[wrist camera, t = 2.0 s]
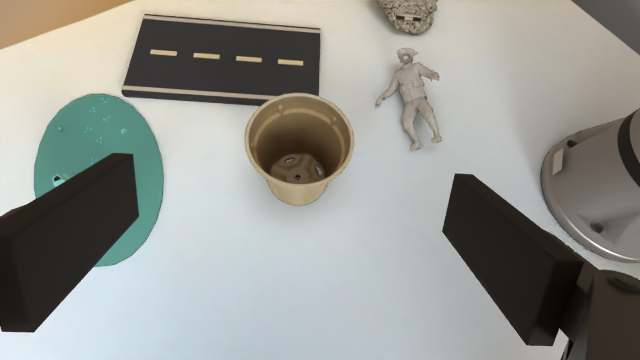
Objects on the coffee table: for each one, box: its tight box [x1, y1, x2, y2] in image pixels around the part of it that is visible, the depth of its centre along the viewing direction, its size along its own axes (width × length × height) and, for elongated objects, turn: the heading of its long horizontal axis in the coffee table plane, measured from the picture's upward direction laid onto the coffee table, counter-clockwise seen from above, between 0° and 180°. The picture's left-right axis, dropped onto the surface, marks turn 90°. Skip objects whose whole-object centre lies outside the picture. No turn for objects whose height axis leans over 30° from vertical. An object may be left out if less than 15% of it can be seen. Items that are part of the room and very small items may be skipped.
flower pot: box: [245, 93, 354, 205], centre depth 36 cm, size 9×9×9 cm
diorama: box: [34, 94, 163, 267], centre depth 34 cm, size 12×20×9 cm, turn 20°
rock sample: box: [376, 0, 438, 35], centre depth 49 cm, size 10×8×9 cm
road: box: [122, 14, 320, 106], centre depth 45 cm, size 22×12×1 cm, turn 89°
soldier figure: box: [375, 48, 442, 149], centre depth 43 cm, size 8×5×12 cm
